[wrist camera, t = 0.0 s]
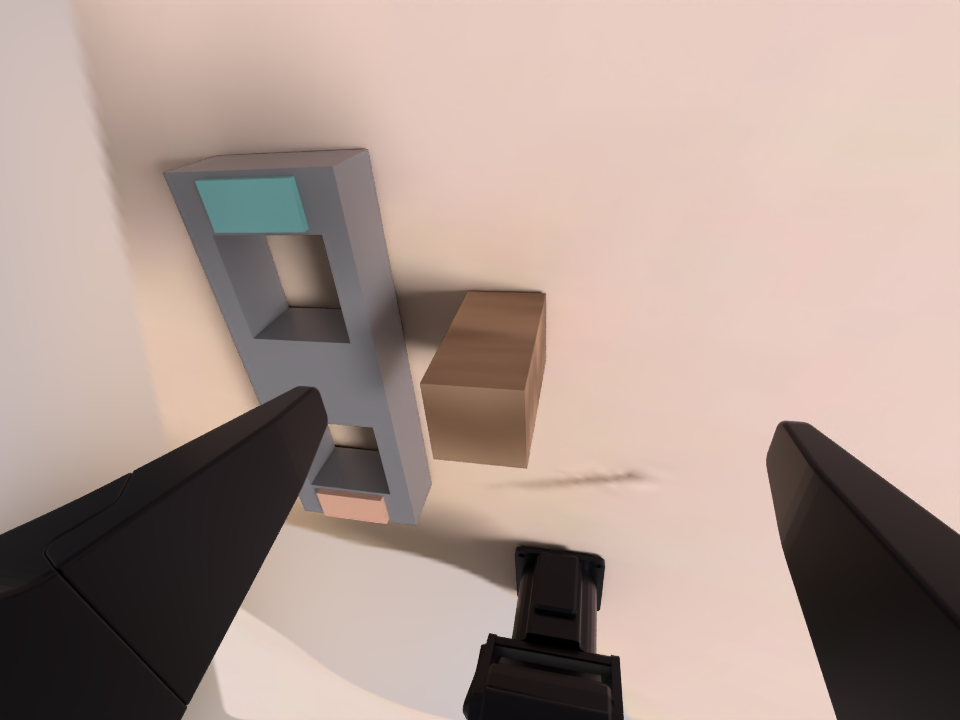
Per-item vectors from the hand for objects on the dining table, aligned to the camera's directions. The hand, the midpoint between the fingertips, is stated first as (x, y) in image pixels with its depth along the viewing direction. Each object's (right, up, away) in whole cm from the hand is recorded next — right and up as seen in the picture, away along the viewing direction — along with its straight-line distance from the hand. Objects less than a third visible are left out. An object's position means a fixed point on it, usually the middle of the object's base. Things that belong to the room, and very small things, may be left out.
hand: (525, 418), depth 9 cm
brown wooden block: (+1, +3, +16) cm, 16 cm away
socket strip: (-9, +2, +19) cm, 21 cm away
